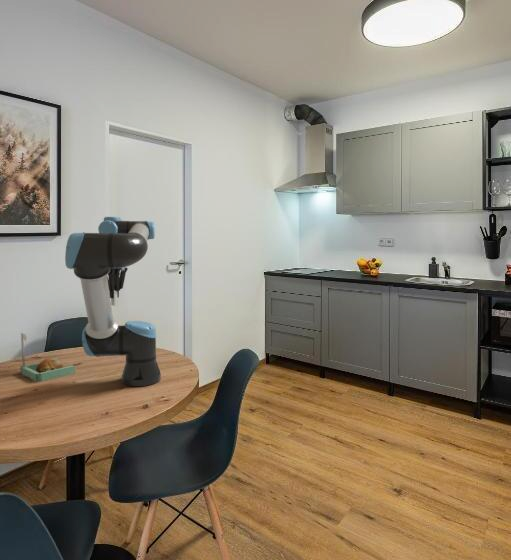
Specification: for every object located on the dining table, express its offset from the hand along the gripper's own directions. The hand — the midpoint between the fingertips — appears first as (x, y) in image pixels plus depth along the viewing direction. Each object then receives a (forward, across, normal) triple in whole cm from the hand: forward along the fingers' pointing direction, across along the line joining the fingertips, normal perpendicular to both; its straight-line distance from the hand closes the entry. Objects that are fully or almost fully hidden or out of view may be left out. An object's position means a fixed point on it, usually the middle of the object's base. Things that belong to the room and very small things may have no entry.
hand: (114, 305), depth 185 cm
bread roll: (+27, +26, -8) cm, 38 cm away
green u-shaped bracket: (+26, +26, -8) cm, 38 cm away
